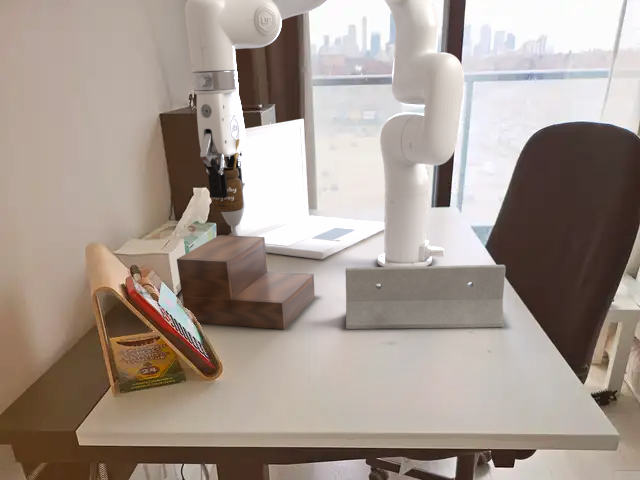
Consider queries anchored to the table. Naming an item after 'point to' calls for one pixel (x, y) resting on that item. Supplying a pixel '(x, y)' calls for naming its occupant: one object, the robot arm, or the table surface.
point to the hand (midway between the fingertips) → (227, 192)
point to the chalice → (234, 217)
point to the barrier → (425, 297)
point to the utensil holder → (230, 190)
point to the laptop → (289, 197)
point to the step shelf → (241, 285)
